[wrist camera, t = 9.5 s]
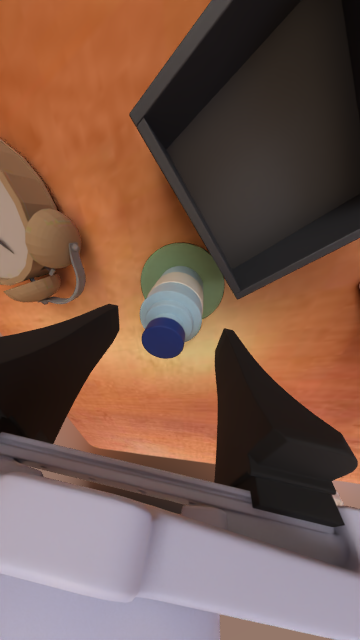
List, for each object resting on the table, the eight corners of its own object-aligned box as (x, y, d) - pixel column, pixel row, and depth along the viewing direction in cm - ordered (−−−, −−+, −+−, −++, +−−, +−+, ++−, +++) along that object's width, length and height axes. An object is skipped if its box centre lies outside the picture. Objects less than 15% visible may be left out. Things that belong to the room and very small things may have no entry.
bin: (374, 190, 12) (478, 178, 7) (229, 275, 16) (237, 300, 12) (340, -58, 8) (536, -452, 3) (157, 149, 12) (128, 114, 8)
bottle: (212, 295, 17) (216, 355, 10) (176, 315, 19) (157, 377, 12) (186, 255, 15) (169, 294, 8) (149, 281, 17) (108, 332, 10)
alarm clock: (-132, 36, 9) (79, 258, 11) (-15, 102, 13) (120, 253, 16) (-111, 211, 14) (31, 338, 17) (-32, 217, 19) (71, 317, 21)
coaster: (239, 299, 17) (239, 300, 17) (173, 332, 21) (173, 334, 21) (193, 220, 14) (193, 221, 14) (125, 275, 18) (124, 276, 17)
